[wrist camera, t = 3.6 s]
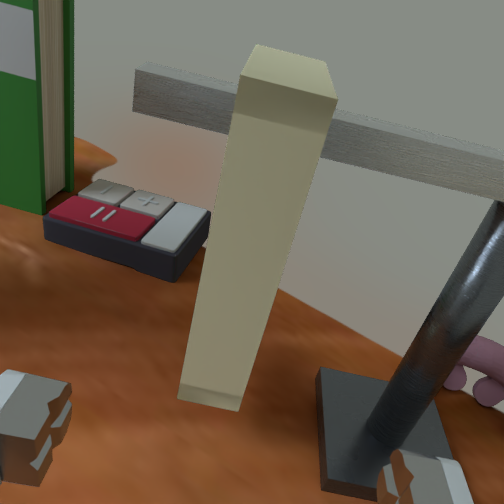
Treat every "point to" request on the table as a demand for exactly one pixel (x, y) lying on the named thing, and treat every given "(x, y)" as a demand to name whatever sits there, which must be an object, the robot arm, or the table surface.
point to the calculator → (130, 228)
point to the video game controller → (486, 361)
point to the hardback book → (36, 102)
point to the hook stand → (439, 318)
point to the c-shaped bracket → (255, 218)
